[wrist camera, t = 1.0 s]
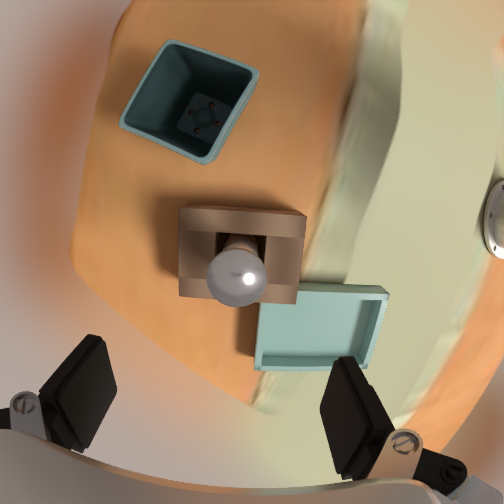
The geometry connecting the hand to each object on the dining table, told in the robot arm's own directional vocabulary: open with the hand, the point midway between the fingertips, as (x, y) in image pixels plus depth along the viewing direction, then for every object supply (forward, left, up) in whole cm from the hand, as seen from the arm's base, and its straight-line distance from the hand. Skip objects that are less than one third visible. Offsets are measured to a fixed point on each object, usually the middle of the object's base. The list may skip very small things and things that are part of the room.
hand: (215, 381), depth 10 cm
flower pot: (+5, -14, -21) cm, 26 cm away
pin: (0, 0, -21) cm, 21 cm away
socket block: (0, 0, -21) cm, 21 cm away
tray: (-10, +9, -21) cm, 25 cm away
